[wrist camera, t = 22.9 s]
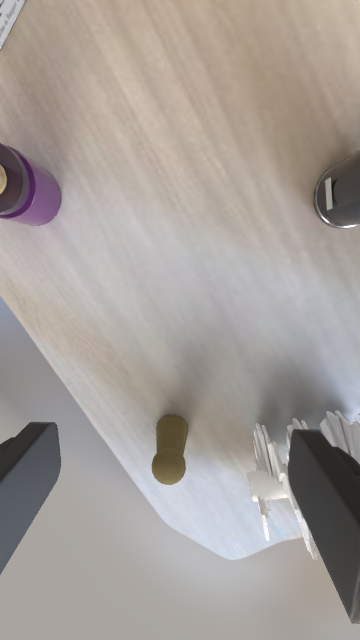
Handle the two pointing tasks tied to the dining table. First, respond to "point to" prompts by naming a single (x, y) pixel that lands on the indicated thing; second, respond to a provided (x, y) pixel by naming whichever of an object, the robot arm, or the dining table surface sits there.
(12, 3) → the cereal box
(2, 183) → the sprinkles bottle
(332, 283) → the dining table surface
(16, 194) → the plum jar
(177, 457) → the olive game pawn
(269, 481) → the spiral staircase
